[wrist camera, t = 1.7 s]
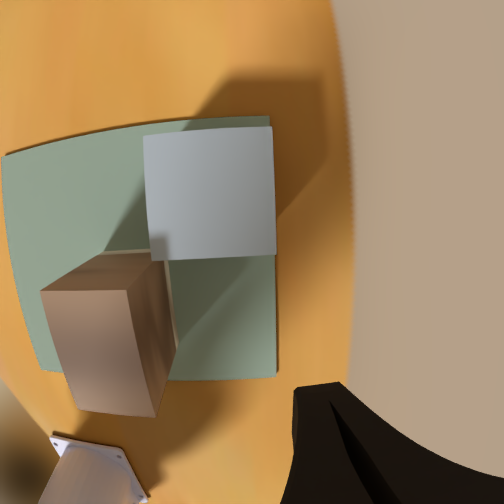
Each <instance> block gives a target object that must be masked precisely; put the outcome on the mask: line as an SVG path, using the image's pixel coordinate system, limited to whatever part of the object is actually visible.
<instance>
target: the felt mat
mask: <svg viewBox="0 0 504 504" xmlns="http://www.w3.org/2000/svg"><path fill="white" fill-rule="evenodd" d="M238 127H270V117H269V116H238V117H219V118H204V119H192V120H182V121H172V122H163V123H155V124H148V125H140V126H134V127H127V128H121V129H115V130H109V131H104V132H99V133H93V134H88V135H84V136H79V137H74V138H70V139H65V140H61V141H57V142H53V143H49V144H45V145H41V146H38V147H34V148H30V149H27V150H23V151H20V152H17V153H13V154H10V155H7V156H4V157H1V169H2V192H3V205H4V216H5V225H6V233H7V240H8V247H9V253H10V259H11V264H12V269H13V274H14V279H15V284H16V288H17V292H18V297H19V301H20V304H21V308H22V312H23V316H24V319H25V323H26V326H27V329H28V333H29V336H30V339H31V342H32V345H33V348H34V351H35V354H36V357H37V359H38V362H39V365H40V368H41V370H47V371H54V372H61V373H64V372H63V370H62V367H61V364H60V361H59V358H58V355H57V352H56V349H55V346H54V343H53V340H52V336H51V333H50V330H49V326H48V322H47V319H46V315H45V311H44V307H43V303H42V299H41V295H40V290H42V289H43V288H45V287H46V286H48V285H49V284H51V283H52V282H54V281H56V280H57V279H59V278H60V277H62V276H64V275H65V274H67V273H68V272H70V271H72V270H73V269H75V268H76V267H78V266H80V265H81V264H83V263H85V262H86V261H88V260H90V259H91V258H93V257H95V256H96V255H98V254H100V253H101V252H103V251H118V250H135V249H150V241H149V231H148V220H147V208H146V194H145V177H144V154H143V136H146V135H154V134H162V133H171V132H181V131H192V130H204V129H219V128H238ZM168 263H169V272H170V281H171V289H172V297H173V305H174V312H175V319H176V326H177V332H178V339H179V344H178V347H177V351H176V354H175V357H174V360H173V363H172V366H171V370H170V373H169V376H168V379H167V380H172V381H202V380H235V379H254V378H268V377H276V298H275V255H261V256H242V257H223V258H203V259H184V260H168Z"/></svg>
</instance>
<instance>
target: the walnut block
mask: <svg viewBox="0 0 504 504" xmlns="http://www.w3.org/2000/svg"><path fill="white" fill-rule="evenodd" d="M40 295H41V299H42V303H43V307H44V311H45V315H46V319H47V322H48V326H49V330H50V333H51V336H52V340H53V343H54V346H55V349H56V352H57V355H58V358H59V361H60V364H61V367H62V370H63V372H64V375H65V378H66V380H67V383H68V386H69V388H70V391H71V393H72V396H73V398H74V401H75V403H76V405H77V408H78V409H79V410H86V411H93V412H100V413H108V414H117V415H127V416H138V417H152V418H156V416H157V413H158V409H159V406H160V403H161V399H162V396H163V393H164V389H165V386H166V383H167V379H168V376H169V373H170V370H171V366H172V363H173V360H174V357H175V354H176V351H177V347H178V344H179V339H178V332H177V326H176V319H175V312H174V305H173V297H172V289H171V281H170V272H169V263H168V260H164V261H152V259H151V250H150V249H135V250H118V251H103V252H101V253H100V254H98V255H96V256H95V257H93V258H91V259H90V260H88V261H86V262H85V263H83V264H81V265H80V266H78V267H76V268H75V269H73V270H72V271H70V272H68V273H67V274H65V275H64V276H62V277H60V278H59V279H57V280H56V281H54V282H52V283H51V284H49V285H48V286H46V287H45V288H43V289H42V290H40Z"/></svg>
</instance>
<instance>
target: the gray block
mask: <svg viewBox="0 0 504 504" xmlns="http://www.w3.org/2000/svg"><path fill="white" fill-rule="evenodd" d="M143 154H144V177H145V194H146V208H147V220H148V231H149V241H150V250H151V259H152V261H164V260H184V259H203V258H223V257H242V256H261V255H277V247H276V211H275V182H274V157H273V134H272V127H238V128H219V129H204V130H192V131H181V132H171V133H162V134H154V135H146V136H143Z"/></svg>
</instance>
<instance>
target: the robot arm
mask: <svg viewBox="0 0 504 504" xmlns="http://www.w3.org/2000/svg"><path fill="white" fill-rule="evenodd" d="M292 438H293V449H294V455H293V460H292V465H291V469H290V473H289V477H288V481H287V484H286V487H285V491H284V494H283V497H282V500H281V502H280V504H504V478H501V477H496V476H492V475H489V474H485V473H482V472H478V471H475V470H473V469H470V468H467V467H464V466H462V465H459V464H457V463H454V462H452V461H450V460H447V459H445V458H443V457H441V456H439V455H437V454H435V453H434V452H432V451H430V450H427V449H426V448H424V447H422V446H420V445H419V444H417V443H416V442H414V441H413V440H411V439H409V438H408V437H406V436H405V435H403V434H402V433H400V432H399V431H397V430H396V429H395V428H394V427H392V426H391V425H390V424H388V423H387V422H386V421H384V420H383V419H382V418H381V417H379V416H378V415H377V414H376V413H374V412H373V411H372V410H371V409H369V408H368V407H367V406H366V405H365V404H364V403H363V402H361V401H360V400H359V399H358V398H357V397H356V396H354V395H353V394H352V393H351V392H350V391H349V390H348V389H347V388H346V387H345V386H343V385H342V384H341V383H340V382H333V383H326V384H319V385H311V386H302V387H297V388H296V389H295V390H294V396H293V418H292ZM49 439H50V441H51V442H52V444H53V446H54V447H55V449H56V451H57V452H58V454H59V456H60V457H61V458H60V460H59V462H58V464H57V466H56V468H55V470H54V472H53V474H52V476H51V478H50V480H49V482H48V484H47V486H46V488H45V490H44V492H43V494H42V496H41V498H40V500H39V503H38V504H139V502H143V503H147V502H148V498H147V496H146V494H145V492H144V491H143V489H142V487H141V485H140V483H139V481H138V480H137V478H136V476H135V474H134V472H133V470H132V468H131V466H130V464H129V462H128V460H127V458H126V456H125V454H124V452H123V450H122V449H120V448H117V447H111V446H104V445H98V444H93V443H87V442H82V441H77V440H72V439H68V438H63V437H59V436H55V435H51V436H50V438H49Z"/></svg>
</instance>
